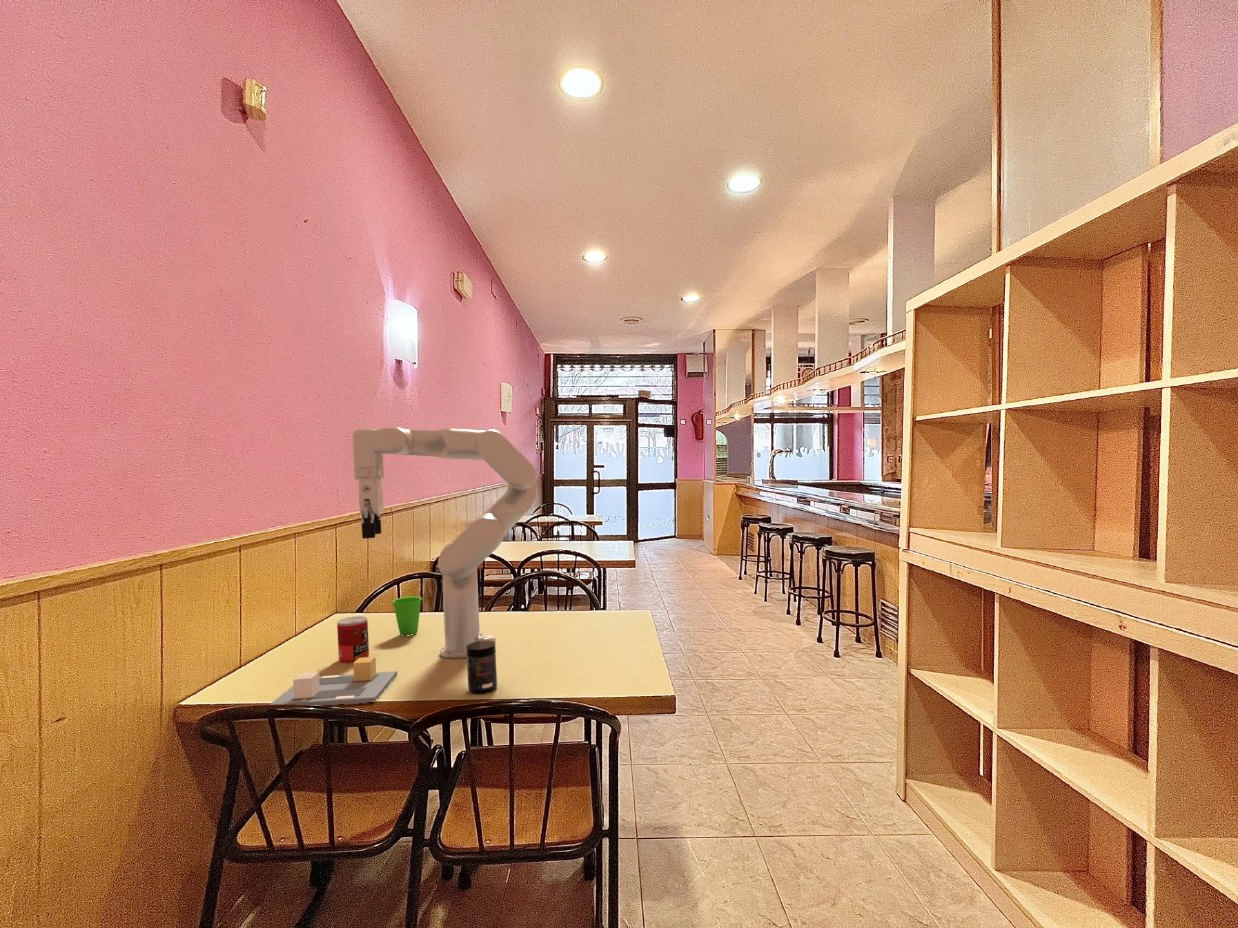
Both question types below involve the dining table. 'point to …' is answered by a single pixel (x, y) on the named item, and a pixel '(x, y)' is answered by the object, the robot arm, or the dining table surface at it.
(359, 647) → the canned food
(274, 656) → the dining table surface
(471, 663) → the supplement container
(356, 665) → the orange cube
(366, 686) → the switch board
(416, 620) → the cup
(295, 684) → the pale pink cube
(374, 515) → the robot arm
